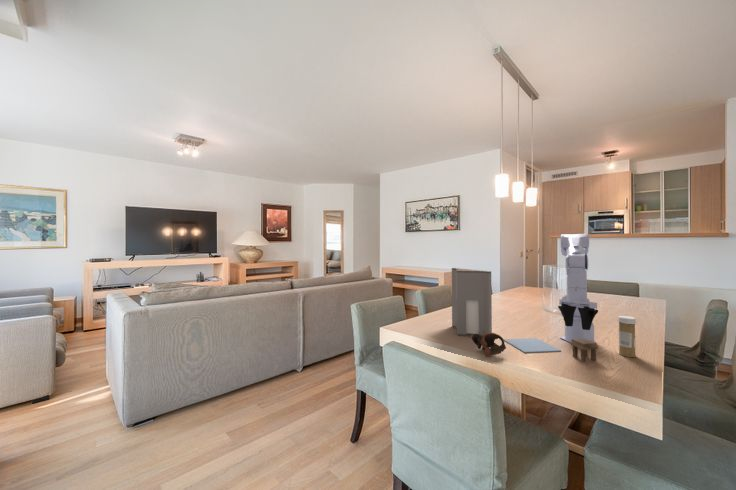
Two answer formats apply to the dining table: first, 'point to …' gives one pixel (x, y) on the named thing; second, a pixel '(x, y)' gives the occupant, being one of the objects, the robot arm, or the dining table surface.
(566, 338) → the robot arm
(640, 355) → the dining table surface
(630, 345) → the sprinkles bottle
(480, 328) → the cabinet
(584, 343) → the walnut stool
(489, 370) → the dining table surface
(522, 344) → the felt mat
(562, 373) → the dining table surface
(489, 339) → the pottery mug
